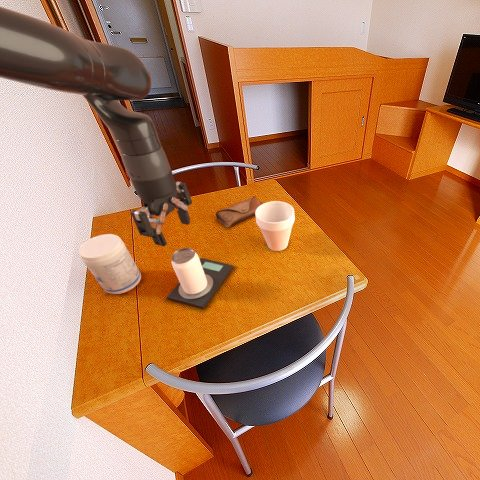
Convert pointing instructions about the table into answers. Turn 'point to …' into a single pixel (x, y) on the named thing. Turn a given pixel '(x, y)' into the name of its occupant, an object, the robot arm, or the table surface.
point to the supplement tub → (110, 263)
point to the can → (189, 271)
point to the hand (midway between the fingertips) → (174, 233)
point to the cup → (275, 223)
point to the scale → (214, 277)
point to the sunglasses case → (238, 212)
